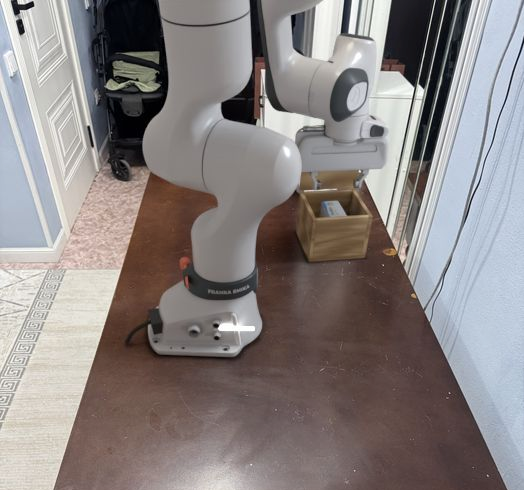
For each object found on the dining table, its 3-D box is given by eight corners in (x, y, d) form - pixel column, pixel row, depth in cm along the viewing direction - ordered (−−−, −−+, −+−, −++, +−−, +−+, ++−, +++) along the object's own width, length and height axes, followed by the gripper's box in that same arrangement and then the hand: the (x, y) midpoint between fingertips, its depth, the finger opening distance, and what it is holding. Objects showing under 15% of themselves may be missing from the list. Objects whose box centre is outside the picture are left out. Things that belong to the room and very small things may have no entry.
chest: (364, 257, 118) (372, 216, 110) (308, 262, 116) (312, 219, 108) (348, 228, 128) (354, 188, 120) (296, 232, 126) (299, 191, 118)
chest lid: (368, 129, 108) (361, 117, 111) (306, 131, 106) (301, 119, 109) (355, 187, 120) (349, 176, 123) (299, 190, 118) (295, 178, 121)
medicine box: (343, 248, 119) (348, 215, 113) (325, 250, 118) (329, 217, 112) (334, 232, 124) (338, 199, 118) (317, 233, 124) (320, 201, 118)
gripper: (299, 131, 98) (294, 196, 108) (396, 128, 101) (383, 192, 111) (293, 120, 103) (288, 184, 112) (386, 117, 106) (374, 180, 115)
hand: (336, 188), depth 112 cm, fingers open, 8 cm apart
